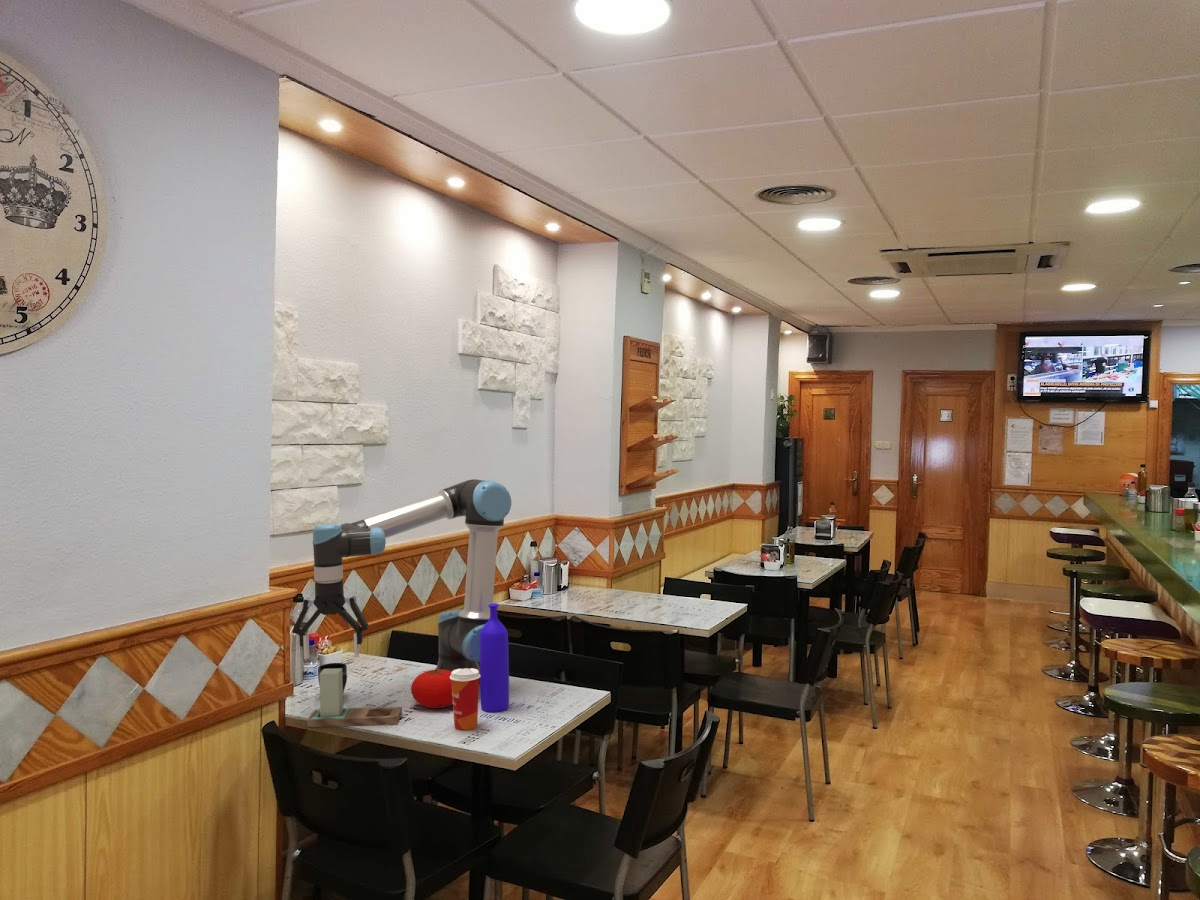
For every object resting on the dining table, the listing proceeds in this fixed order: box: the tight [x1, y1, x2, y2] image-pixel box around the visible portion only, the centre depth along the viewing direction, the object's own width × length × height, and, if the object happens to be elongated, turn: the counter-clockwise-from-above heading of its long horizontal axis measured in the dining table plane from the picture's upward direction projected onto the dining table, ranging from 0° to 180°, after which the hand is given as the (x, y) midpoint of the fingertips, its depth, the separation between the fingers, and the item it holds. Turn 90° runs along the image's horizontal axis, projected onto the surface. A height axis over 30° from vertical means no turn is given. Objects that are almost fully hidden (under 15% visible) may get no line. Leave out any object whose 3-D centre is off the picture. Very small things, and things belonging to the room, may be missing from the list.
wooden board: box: [306, 706, 403, 728], centre depth 245 cm, size 24×9×2 cm, turn 94°
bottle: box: [479, 603, 510, 713], centre depth 254 cm, size 8×8×30 cm
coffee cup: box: [450, 668, 480, 731], centre depth 239 cm, size 8×8×15 cm
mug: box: [317, 662, 348, 694], centre depth 265 cm, size 8×12×10 cm
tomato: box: [410, 668, 453, 709], centre depth 258 cm, size 14×13×10 cm
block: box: [319, 668, 344, 717], centre depth 245 cm, size 5×5×14 cm
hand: (331, 657), depth 245 cm, fingers open, 13 cm apart
